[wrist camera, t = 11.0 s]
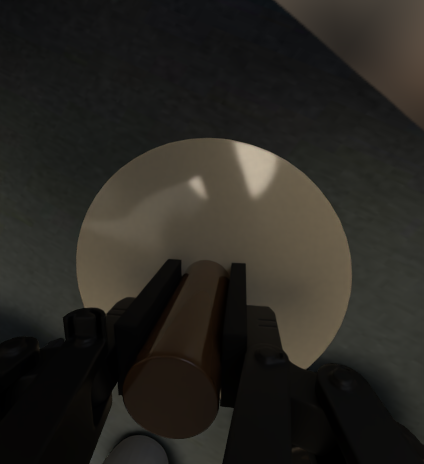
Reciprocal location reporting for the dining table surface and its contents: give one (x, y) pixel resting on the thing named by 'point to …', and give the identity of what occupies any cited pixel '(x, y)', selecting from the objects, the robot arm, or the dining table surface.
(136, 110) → the dining table surface
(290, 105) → the dining table surface
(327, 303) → the lid
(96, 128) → the dining table surface
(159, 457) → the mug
